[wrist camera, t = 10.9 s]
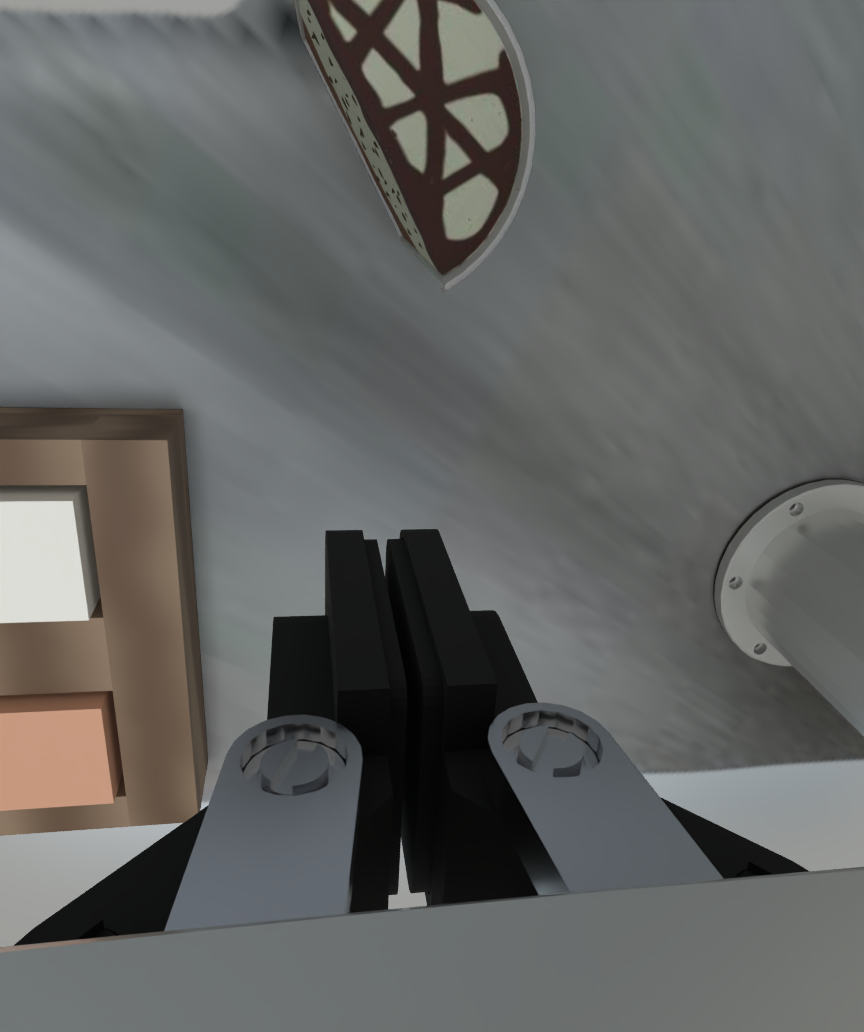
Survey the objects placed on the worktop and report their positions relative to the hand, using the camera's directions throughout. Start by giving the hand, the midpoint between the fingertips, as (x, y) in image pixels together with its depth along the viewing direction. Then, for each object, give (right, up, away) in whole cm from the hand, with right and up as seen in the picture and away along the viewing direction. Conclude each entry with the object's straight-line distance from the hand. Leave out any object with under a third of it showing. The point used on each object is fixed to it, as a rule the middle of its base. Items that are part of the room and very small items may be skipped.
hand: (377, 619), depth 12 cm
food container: (0, +20, +24) cm, 31 cm away
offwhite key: (-18, +1, +26) cm, 32 cm away
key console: (-19, -3, +30) cm, 36 cm away
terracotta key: (-19, -9, +30) cm, 37 cm away
